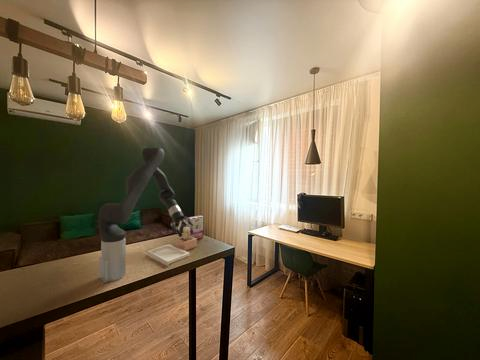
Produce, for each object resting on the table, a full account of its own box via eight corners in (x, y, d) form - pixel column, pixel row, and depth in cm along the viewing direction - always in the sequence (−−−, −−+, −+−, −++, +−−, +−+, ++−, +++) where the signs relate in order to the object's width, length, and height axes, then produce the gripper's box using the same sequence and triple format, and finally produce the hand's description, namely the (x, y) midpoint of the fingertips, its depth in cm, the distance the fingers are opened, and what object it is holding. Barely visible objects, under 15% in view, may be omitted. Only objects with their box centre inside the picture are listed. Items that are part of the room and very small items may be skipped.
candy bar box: (199, 237, 145) (200, 215, 144) (203, 238, 141) (204, 216, 141) (186, 240, 137) (186, 217, 137) (189, 242, 134) (190, 218, 133)
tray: (167, 266, 99) (167, 261, 99) (147, 255, 111) (147, 250, 111) (189, 257, 111) (189, 252, 110) (168, 248, 122) (169, 244, 122)
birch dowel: (185, 248, 120) (186, 229, 120) (181, 246, 123) (181, 227, 122) (191, 246, 124) (191, 227, 123) (186, 244, 126) (187, 226, 126)
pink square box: (184, 252, 117) (185, 242, 117) (175, 248, 122) (175, 238, 122) (196, 247, 124) (197, 238, 124) (187, 244, 130) (187, 235, 130)
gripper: (169, 212, 122) (180, 234, 115) (187, 209, 133) (198, 229, 127) (164, 219, 125) (174, 240, 119) (182, 215, 136) (193, 235, 130)
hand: (187, 234), depth 123 cm, fingers open, 8 cm apart
